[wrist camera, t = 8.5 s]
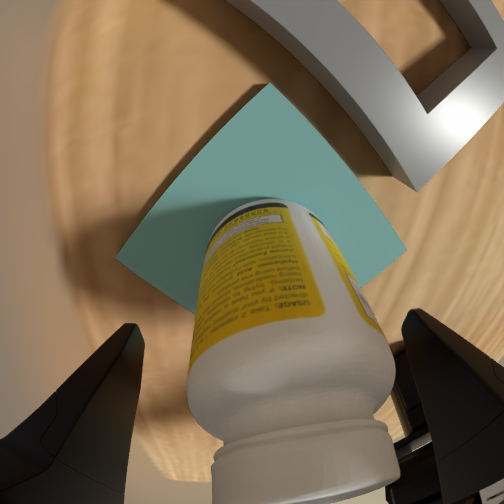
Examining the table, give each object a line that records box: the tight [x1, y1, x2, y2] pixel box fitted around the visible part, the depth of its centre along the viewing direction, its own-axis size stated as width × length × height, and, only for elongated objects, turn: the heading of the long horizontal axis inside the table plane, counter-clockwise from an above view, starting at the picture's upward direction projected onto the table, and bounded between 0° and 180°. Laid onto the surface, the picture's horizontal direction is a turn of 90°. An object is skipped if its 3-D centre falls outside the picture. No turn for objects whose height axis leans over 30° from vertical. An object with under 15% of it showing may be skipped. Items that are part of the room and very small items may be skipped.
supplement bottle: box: [187, 199, 400, 504], centre depth 8 cm, size 5×5×10 cm
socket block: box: [225, 0, 504, 192], centre depth 6 cm, size 11×11×2 cm
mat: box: [115, 83, 407, 315], centre depth 12 cm, size 10×10×1 cm
